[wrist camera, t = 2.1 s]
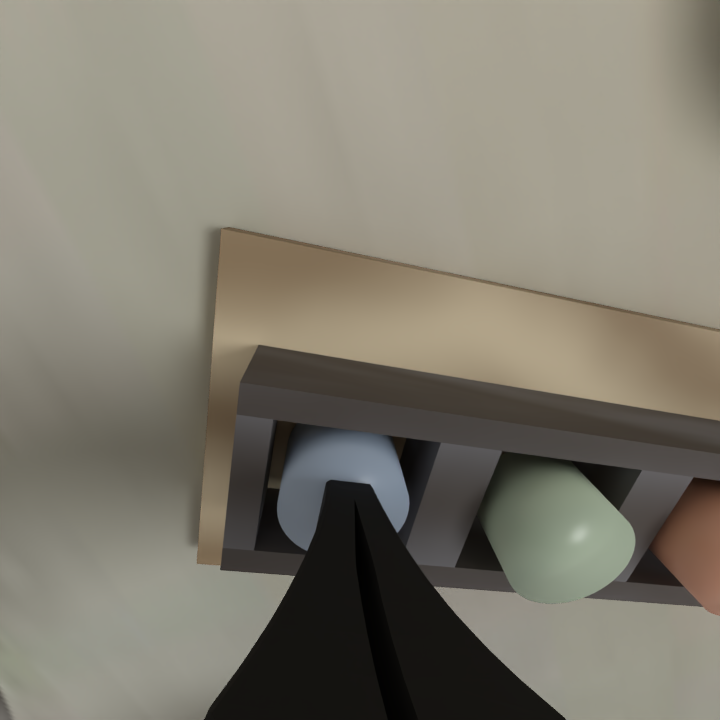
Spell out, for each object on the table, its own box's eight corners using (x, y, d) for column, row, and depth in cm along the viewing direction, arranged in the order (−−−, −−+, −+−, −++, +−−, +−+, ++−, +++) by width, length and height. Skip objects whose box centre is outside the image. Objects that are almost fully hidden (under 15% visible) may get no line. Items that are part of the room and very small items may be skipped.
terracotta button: (696, 549, 16) (772, 620, 14) (615, 541, 16) (677, 612, 13) (748, 475, 15) (845, 536, 12) (662, 462, 14) (742, 524, 12)
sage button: (550, 534, 15) (600, 607, 12) (458, 525, 15) (488, 599, 12) (592, 453, 14) (659, 514, 11) (492, 439, 13) (535, 500, 10)
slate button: (380, 497, 15) (392, 562, 12) (280, 486, 15) (269, 552, 12) (404, 411, 14) (424, 463, 11) (295, 395, 13) (286, 446, 10)
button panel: (654, 583, 21) (724, 664, 17) (203, 544, 17) (169, 636, 14) (813, 349, 16) (961, 392, 12) (229, 227, 12) (187, 235, 9)
